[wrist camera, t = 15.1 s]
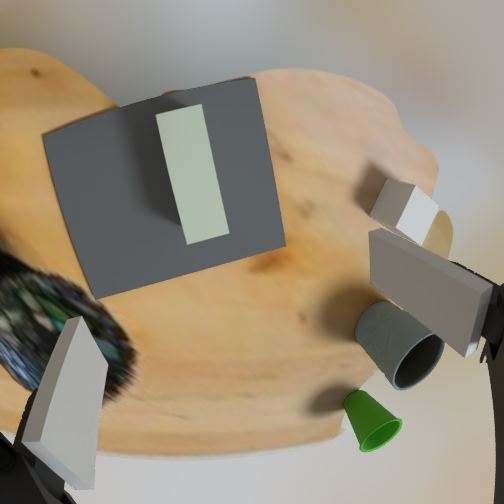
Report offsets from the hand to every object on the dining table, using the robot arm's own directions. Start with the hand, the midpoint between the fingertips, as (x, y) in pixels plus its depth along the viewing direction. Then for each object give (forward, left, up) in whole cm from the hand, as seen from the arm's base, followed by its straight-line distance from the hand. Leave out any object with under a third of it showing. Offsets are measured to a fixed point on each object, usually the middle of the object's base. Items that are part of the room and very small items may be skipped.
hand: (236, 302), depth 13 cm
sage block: (0, -2, -19) cm, 19 cm away
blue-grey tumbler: (+23, -26, -23) cm, 42 cm away
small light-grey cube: (+26, -7, -23) cm, 36 cm away
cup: (+19, -44, -23) cm, 53 cm away
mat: (-3, +2, -23) cm, 23 cm away
